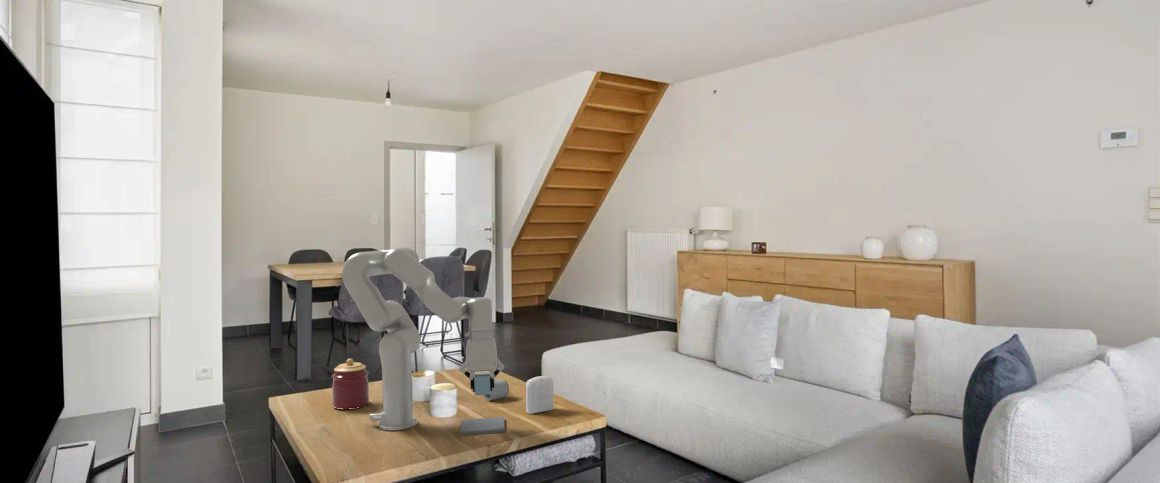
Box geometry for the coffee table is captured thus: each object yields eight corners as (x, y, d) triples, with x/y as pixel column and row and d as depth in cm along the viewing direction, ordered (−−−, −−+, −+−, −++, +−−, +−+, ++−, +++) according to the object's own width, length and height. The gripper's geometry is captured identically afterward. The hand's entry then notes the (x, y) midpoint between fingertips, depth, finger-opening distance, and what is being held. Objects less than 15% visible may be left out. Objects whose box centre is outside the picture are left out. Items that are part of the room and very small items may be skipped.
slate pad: (460, 434, 198) (460, 431, 198) (462, 422, 211) (461, 419, 211) (504, 432, 200) (504, 428, 200) (503, 419, 213) (503, 416, 213)
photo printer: (549, 407, 227) (548, 373, 227) (555, 410, 223) (554, 375, 223) (524, 412, 221) (523, 377, 221) (530, 415, 218) (529, 379, 217)
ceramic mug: (510, 399, 238) (509, 379, 238) (490, 403, 234) (490, 382, 234) (498, 393, 247) (497, 374, 247) (479, 397, 243) (478, 377, 243)
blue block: (474, 395, 202) (474, 377, 202) (475, 391, 207) (474, 373, 207) (490, 394, 203) (489, 376, 203) (490, 390, 208) (489, 372, 208)
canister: (373, 406, 232) (372, 359, 232) (337, 412, 225) (335, 364, 225) (364, 398, 243) (362, 353, 243) (328, 404, 236) (327, 358, 235)
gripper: (453, 338, 200) (455, 395, 200) (507, 335, 202) (509, 391, 203) (455, 334, 207) (456, 389, 208) (506, 332, 210) (508, 386, 210)
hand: (482, 390), depth 205 cm, fingers closed on blue block, 5 cm apart
